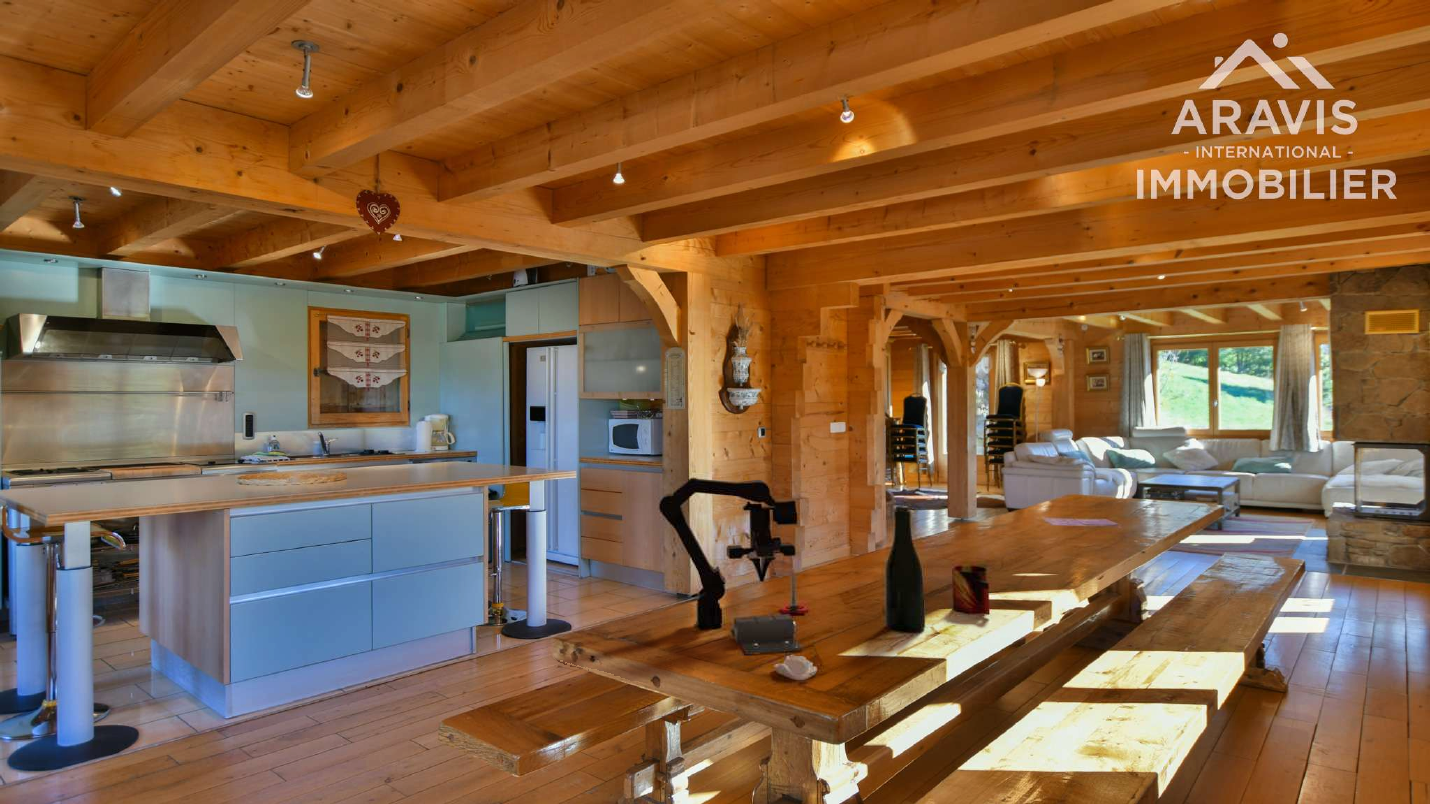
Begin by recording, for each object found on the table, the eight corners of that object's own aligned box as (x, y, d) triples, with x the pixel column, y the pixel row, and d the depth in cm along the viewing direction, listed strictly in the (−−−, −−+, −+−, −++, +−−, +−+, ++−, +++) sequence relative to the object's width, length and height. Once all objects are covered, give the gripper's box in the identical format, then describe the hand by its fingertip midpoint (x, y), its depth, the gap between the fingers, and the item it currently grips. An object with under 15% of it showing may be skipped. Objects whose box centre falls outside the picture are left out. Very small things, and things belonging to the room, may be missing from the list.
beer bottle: (926, 623, 219) (923, 504, 219) (924, 634, 209) (921, 509, 209) (887, 621, 222) (884, 503, 222) (883, 632, 212) (880, 508, 212)
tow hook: (781, 608, 241) (779, 615, 232) (780, 565, 242) (778, 570, 232) (809, 608, 240) (808, 615, 231) (808, 565, 240) (807, 570, 231)
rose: (769, 660, 179) (777, 647, 188) (770, 680, 179) (777, 666, 188) (813, 663, 176) (819, 649, 186) (814, 683, 176) (819, 668, 186)
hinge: (743, 655, 196) (742, 631, 196) (729, 629, 218) (728, 608, 218) (801, 651, 198) (801, 627, 198) (782, 625, 220) (781, 605, 220)
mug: (987, 619, 222) (986, 576, 222) (946, 609, 233) (945, 568, 233) (1007, 613, 227) (1006, 571, 227) (966, 604, 238) (965, 564, 238)
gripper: (731, 531, 213) (733, 590, 213) (799, 528, 215) (801, 586, 215) (725, 525, 224) (727, 581, 224) (790, 522, 226) (791, 577, 226)
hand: (761, 581), depth 222 cm, fingers closed
